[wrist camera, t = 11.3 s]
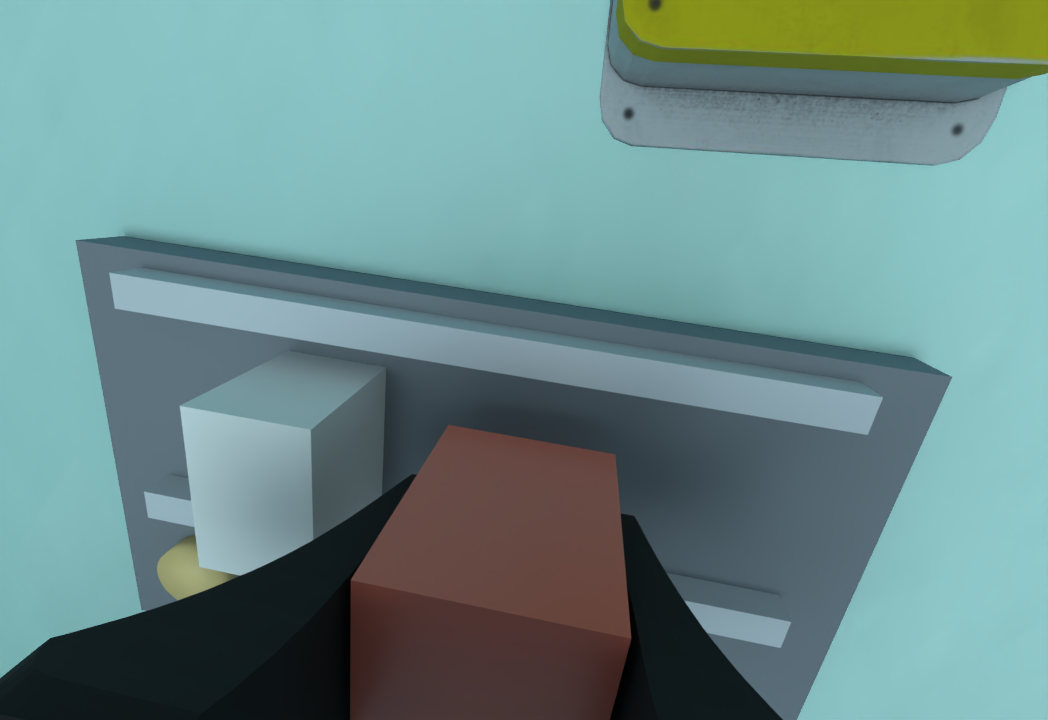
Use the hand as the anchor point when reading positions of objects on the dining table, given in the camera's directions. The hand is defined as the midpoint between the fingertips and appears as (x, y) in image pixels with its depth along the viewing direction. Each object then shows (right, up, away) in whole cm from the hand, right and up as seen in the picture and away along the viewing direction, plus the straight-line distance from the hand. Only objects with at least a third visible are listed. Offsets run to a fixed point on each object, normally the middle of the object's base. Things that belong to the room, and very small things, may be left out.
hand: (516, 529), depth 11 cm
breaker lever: (-6, +2, +3) cm, 7 cm away
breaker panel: (-2, -1, +5) cm, 6 cm away
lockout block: (0, 0, +1) cm, 1 cm away
